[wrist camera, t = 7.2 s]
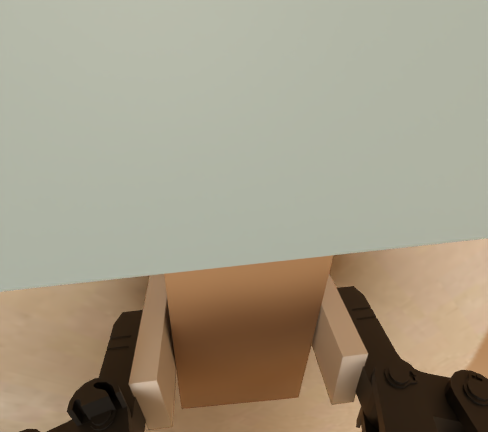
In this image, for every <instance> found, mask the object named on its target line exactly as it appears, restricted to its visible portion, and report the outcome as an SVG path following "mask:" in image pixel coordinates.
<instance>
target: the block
mask: <svg viewBox="0 0 488 432" xmlns="http://www.w3.org/2000/svg"><path fill="white" fill-rule="evenodd" d="M487 238H488V0H0V292H2V291H11V290H20V289H29V288H38V287H48V286H57V285H66V284H75V283H84V282H93V281H102V280H112V279H121V278H130V277H139V276H148V275H157V274H166V273H176V272H185V271H194V270H203V269H212V268H221V267H231V266H240V265H249V264H258V263H267V262H276V261H285V260H295V259H304V258H313V257H322V256H331V255H340V254H350V253H359V252H368V251H377V250H386V249H395V248H404V247H414V246H423V245H432V244H441V243H450V242H459V241H468V240H478V239H487Z"/></svg>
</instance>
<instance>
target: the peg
mask: <svg viewBox="0 0 488 432" xmlns="http://www.w3.org/2000/svg"><path fill="white" fill-rule="evenodd" d="M333 256H334V255H331V256H322V257H313V258H304V259H295V260H285V261H276V262H267V263H258V264H249V265H240V266H231V267H221V268H212V269H203V270H194V271H185V272H176V273H166V274H164V277H165V285H166V292H167V300H168V308H169V315H170V323H171V331H172V338H173V346H174V354H175V362H176V369H177V377H178V385H179V392H180V400H181V408H182V409H183V408H194V407H204V406H215V405H225V404H235V403H246V402H256V401H266V400H277V399H287V398H297V397H298V396H299V392H300V388H301V384H302V380H303V376H304V372H305V368H306V364H307V360H308V356H309V352H310V348H311V344H312V340H313V336H314V332H315V328H316V324H317V320H318V316H319V312H320V308H321V304H322V300H323V296H324V292H325V288H326V284H327V280H328V276H329V272H330V268H331V264H332V260H333Z"/></svg>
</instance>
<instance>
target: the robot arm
mask: <svg viewBox="0 0 488 432" xmlns="http://www.w3.org/2000/svg"><path fill="white" fill-rule="evenodd" d="M312 347H313V350H314V353H315V356H316V359H317V362H318V365H319V368H320V371H321V374H322V377H323V380H324V383H325V386H326V389H327V392H328V395H329V398H330V401H331V404H332V405H334V404H341V403H348V402H354V398H355V395H356V394H357V396H358V399H359V401H360V404H361V409H360V412H359V415H358V418H357V424H356V427H358V428H360V426H361V427H362V432H488V379H487V378H485V377H484V376H482V375H481V374H478V373H476V372H473V371H468V370H460V371H457V372H455V373H454V374H453V376H452V377H451V378H448V377H443V376H438V375H432V374H427V373H424V372H420V371H418V370H416V369H414V368H413V367H412V366H411V365H410V364H409V363H407V362H405V361H404V360H402V359H401V358H400V357H399V355H398V354H397V353H396V351H395V349H394V347H393V346H392V344H391V342H390V340H389V339H388V337H387V335H386V333H385V331H384V330H383V328H382V326H381V324H380V323H379V321H378V319H377V318H376V316H375V314H374V312H373V310H372V309H371V308H370V305H369V303H368V302H367V300H366V298H365V296H364V295H363V294H362V293H361V292H359V291H358V290H357V289H356V288H355V287H354V286H351V287H342V288H336V286H335V284H334V282H333V280H332V278H331V276H330V274H329V276H328V280H327V284H326V288H325V292H324V296H323V300H322V304H321V308H320V312H319V316H318V320H317V324H316V328H315V332H314V336H313V340H312ZM175 383H176V362H175V354H174V346H173V338H172V331H171V323H170V315H169V308H168V300H167V292H166V285H165V277H164V274H157V275H150V277H149V282H148V287H147V292H146V297H145V302H144V308H143V310H140V311H131V312H123V313H122V314H121V315H120V317H119V318H118V319H117V321H116V322H115V324H114V326H113V329H112V333H111V336H110V340H109V343H108V347H107V351H106V354H105V358H104V361H103V365H102V368H101V372H100V376H99V378H95V379H93V380H91V381H89V382H87V383H85V384H84V385H83V386H82V387H80V388H79V389H78V390H77V391H76V392H75V394H74V395H73V397H72V398H71V400H70V402H69V405H68V409H67V412H68V414H69V415H70V417H71V418H72V420H70V421H68V422H67V423H64V424H62V425H60V426H58V427H56V428H53V429H51V430H49V431H47V432H144V431H145V423H146V425H147V427H148V430H152V429H159V428H167V427H172V426H173V412H174V397H175ZM20 432H40V431H38V430H37V429H26V430H23V431H20Z"/></svg>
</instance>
